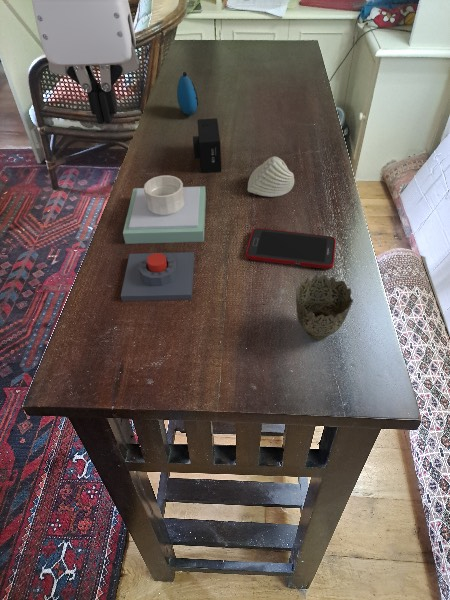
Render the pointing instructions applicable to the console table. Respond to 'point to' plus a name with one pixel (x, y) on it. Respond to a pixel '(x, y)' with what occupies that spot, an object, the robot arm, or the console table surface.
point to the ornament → (187, 95)
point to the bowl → (164, 194)
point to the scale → (166, 220)
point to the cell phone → (291, 248)
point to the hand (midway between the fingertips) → (106, 118)
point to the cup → (322, 305)
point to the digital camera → (208, 145)
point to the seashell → (271, 179)
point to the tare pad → (159, 278)
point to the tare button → (156, 262)
